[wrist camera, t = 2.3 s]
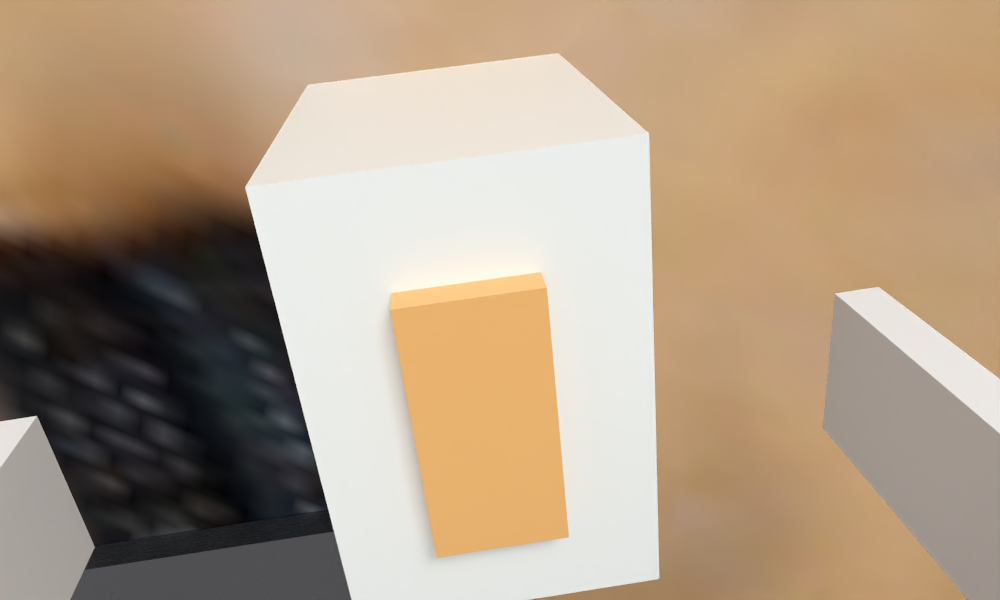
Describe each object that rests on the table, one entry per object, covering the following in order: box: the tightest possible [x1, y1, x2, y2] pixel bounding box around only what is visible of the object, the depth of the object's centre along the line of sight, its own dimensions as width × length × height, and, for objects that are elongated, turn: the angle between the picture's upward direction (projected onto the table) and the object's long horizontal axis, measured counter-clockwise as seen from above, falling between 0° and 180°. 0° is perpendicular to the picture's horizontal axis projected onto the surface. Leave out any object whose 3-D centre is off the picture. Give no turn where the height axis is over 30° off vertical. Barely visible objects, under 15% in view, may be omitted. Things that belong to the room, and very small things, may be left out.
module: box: [245, 53, 659, 600], centre depth 17 cm, size 6×9×9 cm, turn 6°
